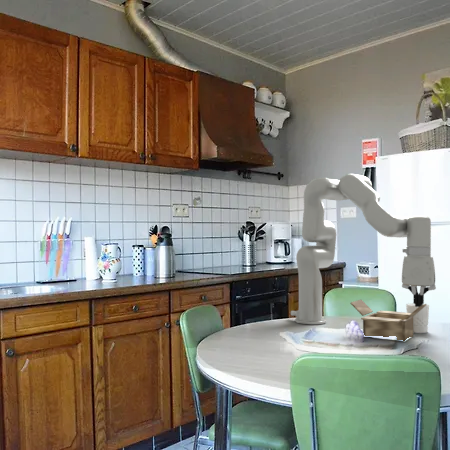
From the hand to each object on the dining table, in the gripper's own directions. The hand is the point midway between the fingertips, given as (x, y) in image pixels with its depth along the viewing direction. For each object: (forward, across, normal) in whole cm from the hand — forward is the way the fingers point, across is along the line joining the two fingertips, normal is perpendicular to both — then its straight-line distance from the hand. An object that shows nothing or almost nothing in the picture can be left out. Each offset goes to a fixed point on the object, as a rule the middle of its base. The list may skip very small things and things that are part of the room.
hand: (418, 306), depth 161 cm
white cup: (+12, -4, +17) cm, 21 cm away
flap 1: (+4, -17, 0) cm, 18 cm away
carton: (+12, -10, 0) cm, 15 cm away
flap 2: (+4, -3, 0) cm, 5 cm away
